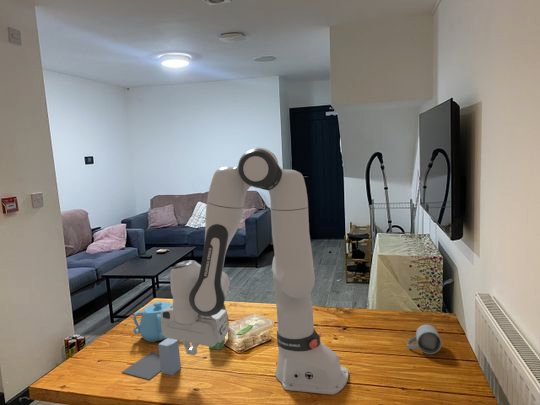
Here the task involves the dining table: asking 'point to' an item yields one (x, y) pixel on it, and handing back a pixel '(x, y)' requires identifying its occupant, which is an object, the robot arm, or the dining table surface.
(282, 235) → the robot arm
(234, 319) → the dining table surface
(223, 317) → the ink box
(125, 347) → the dining table surface
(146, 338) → the decorative pot
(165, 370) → the block
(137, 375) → the mat
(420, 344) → the ceramic mug
